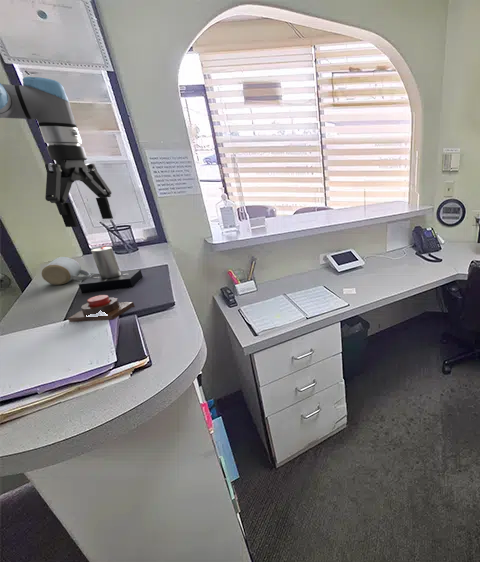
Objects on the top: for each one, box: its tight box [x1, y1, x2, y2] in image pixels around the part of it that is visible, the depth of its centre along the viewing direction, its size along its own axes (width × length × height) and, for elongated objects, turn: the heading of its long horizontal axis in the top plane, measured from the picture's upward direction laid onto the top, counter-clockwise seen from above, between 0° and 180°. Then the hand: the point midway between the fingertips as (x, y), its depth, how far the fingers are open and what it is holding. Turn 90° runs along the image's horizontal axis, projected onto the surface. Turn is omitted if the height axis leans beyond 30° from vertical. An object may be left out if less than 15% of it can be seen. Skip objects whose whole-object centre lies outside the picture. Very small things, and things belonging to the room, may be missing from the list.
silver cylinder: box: [90, 245, 121, 279], centre depth 97 cm, size 5×5×9 cm
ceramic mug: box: [41, 256, 92, 286], centre depth 103 cm, size 11×8×8 cm
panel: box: [78, 268, 144, 294], centre depth 99 cm, size 13×10×3 cm
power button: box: [86, 294, 110, 307], centre depth 77 cm, size 4×4×2 cm
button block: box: [67, 296, 136, 323], centre depth 78 cm, size 10×8×4 cm
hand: (91, 222), depth 92 cm, fingers open, 13 cm apart
